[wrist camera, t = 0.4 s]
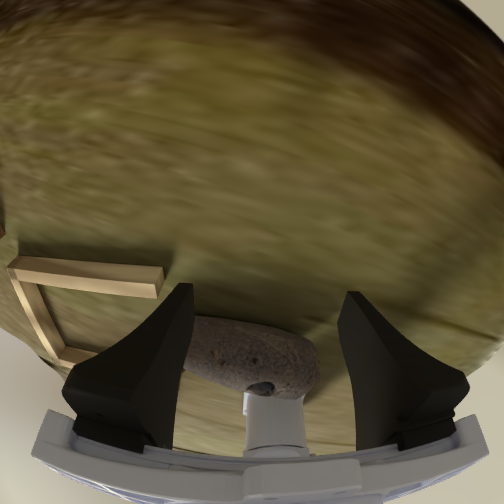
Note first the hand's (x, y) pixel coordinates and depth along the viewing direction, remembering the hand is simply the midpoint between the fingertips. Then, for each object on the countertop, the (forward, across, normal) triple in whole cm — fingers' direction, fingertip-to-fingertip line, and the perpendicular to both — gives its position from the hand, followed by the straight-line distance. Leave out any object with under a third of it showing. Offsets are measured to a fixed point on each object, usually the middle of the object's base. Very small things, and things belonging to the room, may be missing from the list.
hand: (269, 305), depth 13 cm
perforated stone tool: (+10, +2, +12) cm, 16 cm away
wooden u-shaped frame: (+10, +18, +13) cm, 24 cm away
